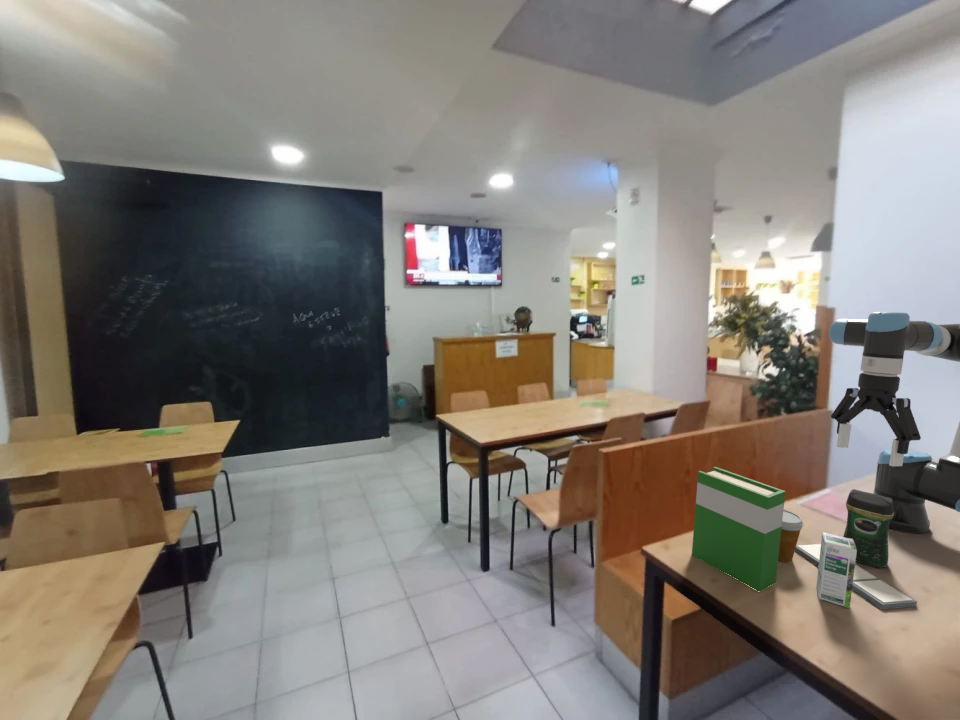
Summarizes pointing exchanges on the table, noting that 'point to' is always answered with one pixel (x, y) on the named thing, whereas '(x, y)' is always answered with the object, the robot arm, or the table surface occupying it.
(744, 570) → the hardback book
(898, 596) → the board
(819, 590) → the syrup box
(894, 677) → the table surface
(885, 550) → the coffee jar
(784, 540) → the disposable coffee cup
